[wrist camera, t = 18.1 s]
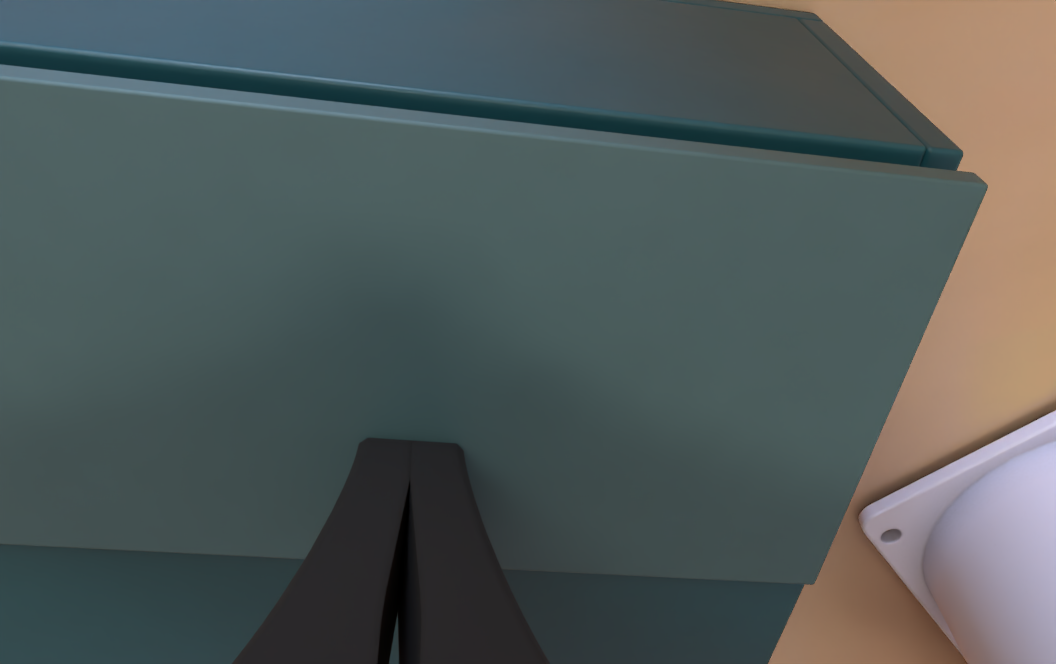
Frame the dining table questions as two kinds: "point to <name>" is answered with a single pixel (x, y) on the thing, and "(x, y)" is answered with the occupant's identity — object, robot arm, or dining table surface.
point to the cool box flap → (445, 325)
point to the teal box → (475, 91)
